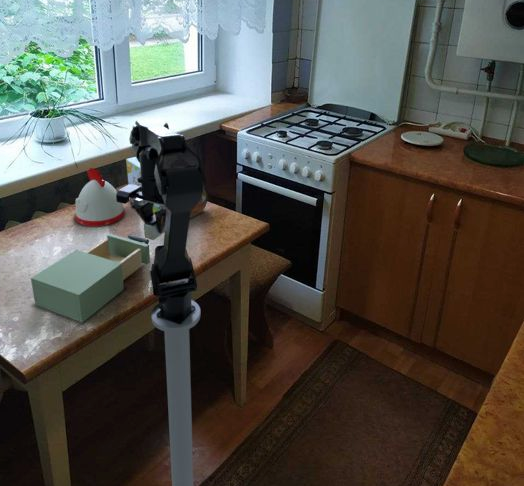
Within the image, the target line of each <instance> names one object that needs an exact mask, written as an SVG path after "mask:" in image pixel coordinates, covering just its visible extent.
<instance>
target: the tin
mask: <svg viewBox="0 0 524 486" xmlns="http://www.w3.org/2000/svg"><path fill="white" fill-rule="evenodd" d="M207 203H208V194H207V191H206V190H205V189H204V190H203V194H202V198H201V201H200V202H199V203H198V204H196V205H195V206H194V209H192V210H191V213H190V219H191V218H193V217H196V216H198V215H199V214H201V213H202V212H203V211H204V210H205V209H206V207H207Z"/></svg>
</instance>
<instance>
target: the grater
mask: <svg viewBox="0 0 524 486" xmlns="http://www.w3.org/2000/svg"><path fill="white" fill-rule="evenodd" d="M143 232H144V238H145V239H148V240H152V241H155V240H156V239H157V238H159V237H160V236H161V235H164V233H165V228H164V231H163V233H161V234H160V233H159V231H158V227H157V222H156V217H155V215H153V216H152V217H150V218H149V219H147V220H146V221H144V222H143Z"/></svg>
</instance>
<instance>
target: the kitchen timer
mask: <svg viewBox="0 0 524 486" xmlns="http://www.w3.org/2000/svg"><path fill="white" fill-rule="evenodd" d="M86 173H87V176H88V179H89V181H88V182H87V183H86V184H85V185H84V186H83V188H82V189H81V190H80V193H79V195H78V197H77V198H75V218H76V219H75V220H76V222H77V223H79V224H81V225H83V226H87V227H102V226H108V225H112V224H114V223H117V222H119V221H120V220H122V218H123V217H124V214H125V210H124V205H123V203H119V202H117V201H116V193H117V191H118V190H116V189H115V187H114V186H113V185H112V184H111V183H109V181H106V179H105V180H104V179H103V175H101V174H100V170H99V169H98V170H97V168H95V169H94V167H91V168H89V170H87V171H86Z"/></svg>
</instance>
